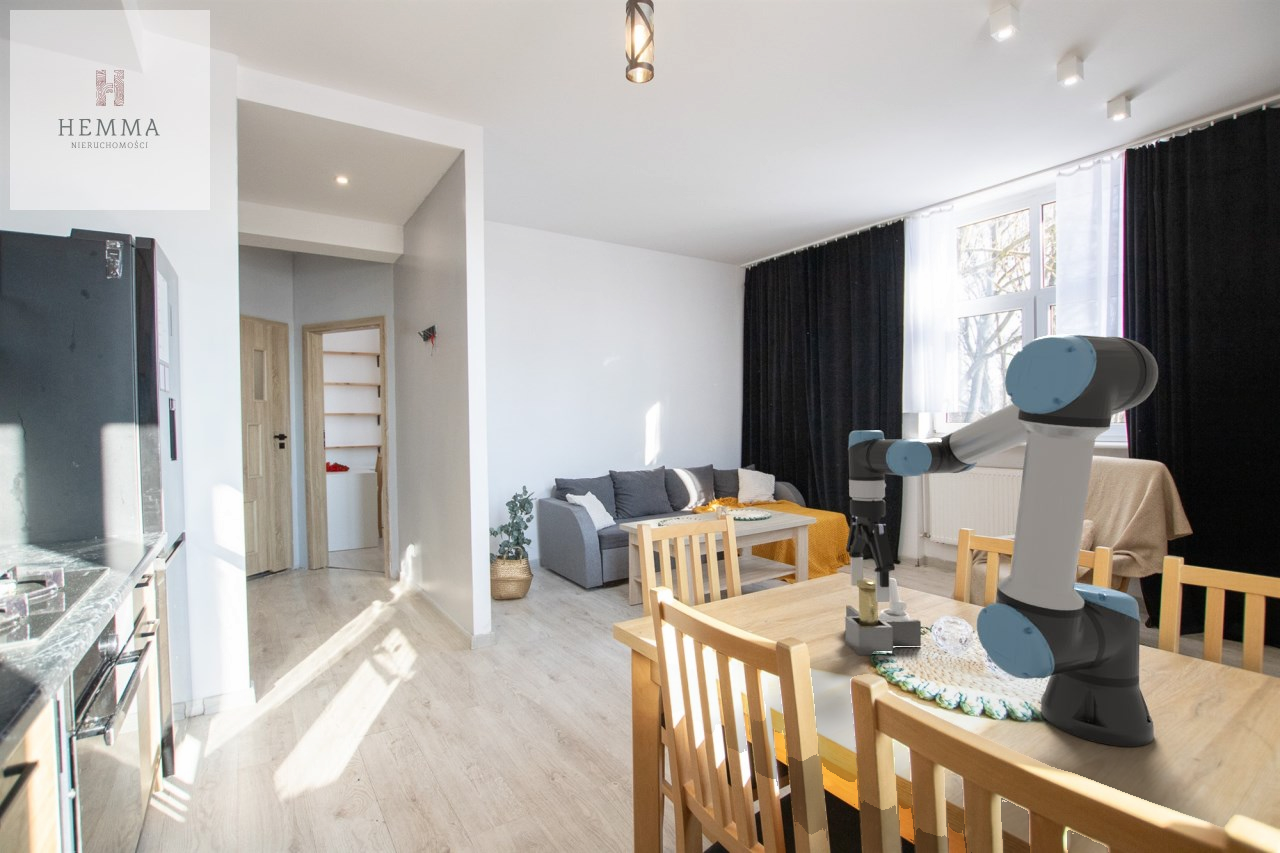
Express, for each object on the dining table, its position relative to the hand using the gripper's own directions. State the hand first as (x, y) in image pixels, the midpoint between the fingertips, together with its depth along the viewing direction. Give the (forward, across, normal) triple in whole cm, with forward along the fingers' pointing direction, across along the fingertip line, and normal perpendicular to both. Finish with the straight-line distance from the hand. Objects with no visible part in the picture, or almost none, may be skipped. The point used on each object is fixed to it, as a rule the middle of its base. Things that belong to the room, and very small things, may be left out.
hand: (869, 593), depth 135 cm
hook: (+13, +20, -15) cm, 28 cm away
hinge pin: (+13, +1, 0) cm, 13 cm away
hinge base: (+13, +5, -4) cm, 14 cm away
